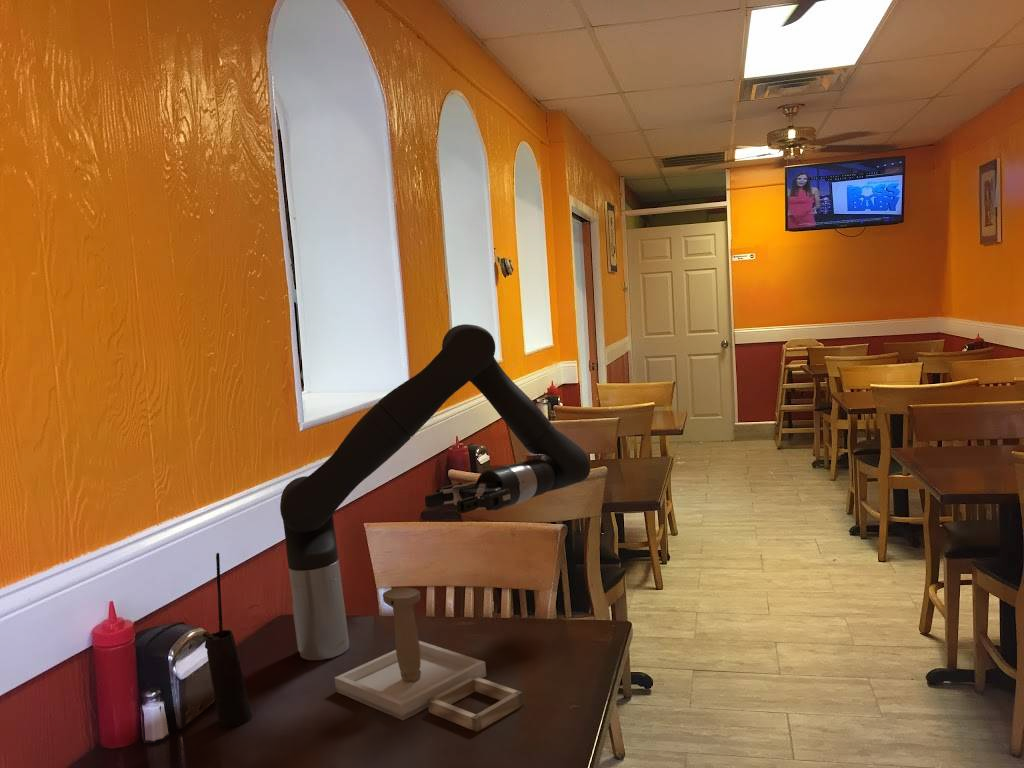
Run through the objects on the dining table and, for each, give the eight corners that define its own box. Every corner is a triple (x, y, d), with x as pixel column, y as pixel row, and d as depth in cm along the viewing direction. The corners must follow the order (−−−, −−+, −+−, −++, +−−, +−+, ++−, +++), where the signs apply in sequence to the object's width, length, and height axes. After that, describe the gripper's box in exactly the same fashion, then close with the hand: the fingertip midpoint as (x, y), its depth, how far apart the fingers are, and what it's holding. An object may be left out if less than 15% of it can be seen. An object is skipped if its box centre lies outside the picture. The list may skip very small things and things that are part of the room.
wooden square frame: (429, 712, 135) (427, 700, 135) (475, 687, 142) (474, 675, 142) (477, 732, 127) (475, 719, 127) (523, 704, 134) (522, 692, 134)
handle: (417, 688, 142) (406, 600, 141) (387, 681, 146) (377, 595, 144) (435, 675, 146) (425, 590, 145) (406, 670, 150) (396, 586, 148)
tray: (336, 691, 146) (334, 677, 145) (418, 653, 158) (417, 639, 158) (403, 720, 133) (401, 705, 133) (486, 676, 146) (484, 661, 146)
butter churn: (185, 729, 138) (160, 558, 135) (232, 702, 146) (210, 541, 143) (223, 739, 133) (198, 563, 130) (270, 711, 141) (248, 544, 138)
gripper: (479, 463, 167) (414, 480, 155) (533, 468, 157) (467, 487, 145) (483, 501, 167) (418, 521, 156) (536, 509, 157) (471, 531, 146)
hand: (442, 505), depth 151 cm, fingers open, 8 cm apart
